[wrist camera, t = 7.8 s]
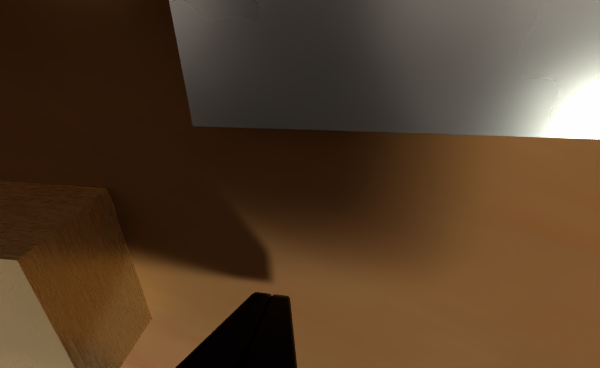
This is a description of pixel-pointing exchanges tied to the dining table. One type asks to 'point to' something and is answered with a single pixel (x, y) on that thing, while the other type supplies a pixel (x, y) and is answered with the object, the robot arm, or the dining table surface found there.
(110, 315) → the tan block
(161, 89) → the dining table surface
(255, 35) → the plate
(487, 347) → the dining table surface
